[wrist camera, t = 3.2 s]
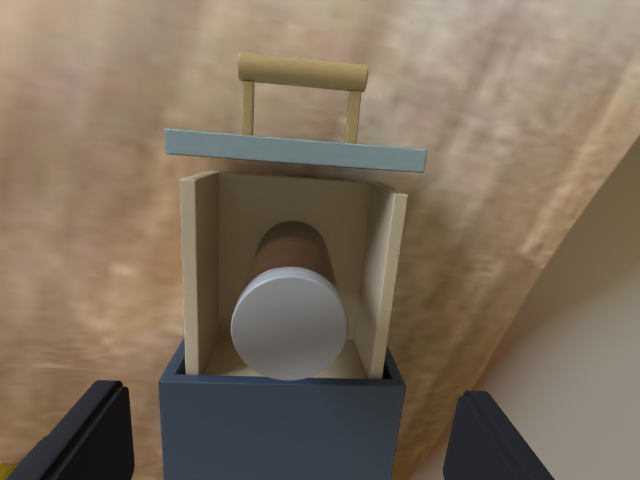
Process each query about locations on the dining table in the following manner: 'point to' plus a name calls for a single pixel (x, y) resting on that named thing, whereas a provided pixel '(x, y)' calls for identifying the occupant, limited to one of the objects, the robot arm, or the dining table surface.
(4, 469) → the lemon
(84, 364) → the dining table surface
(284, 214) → the drawer
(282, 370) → the brown lidded jar
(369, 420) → the cabinet
